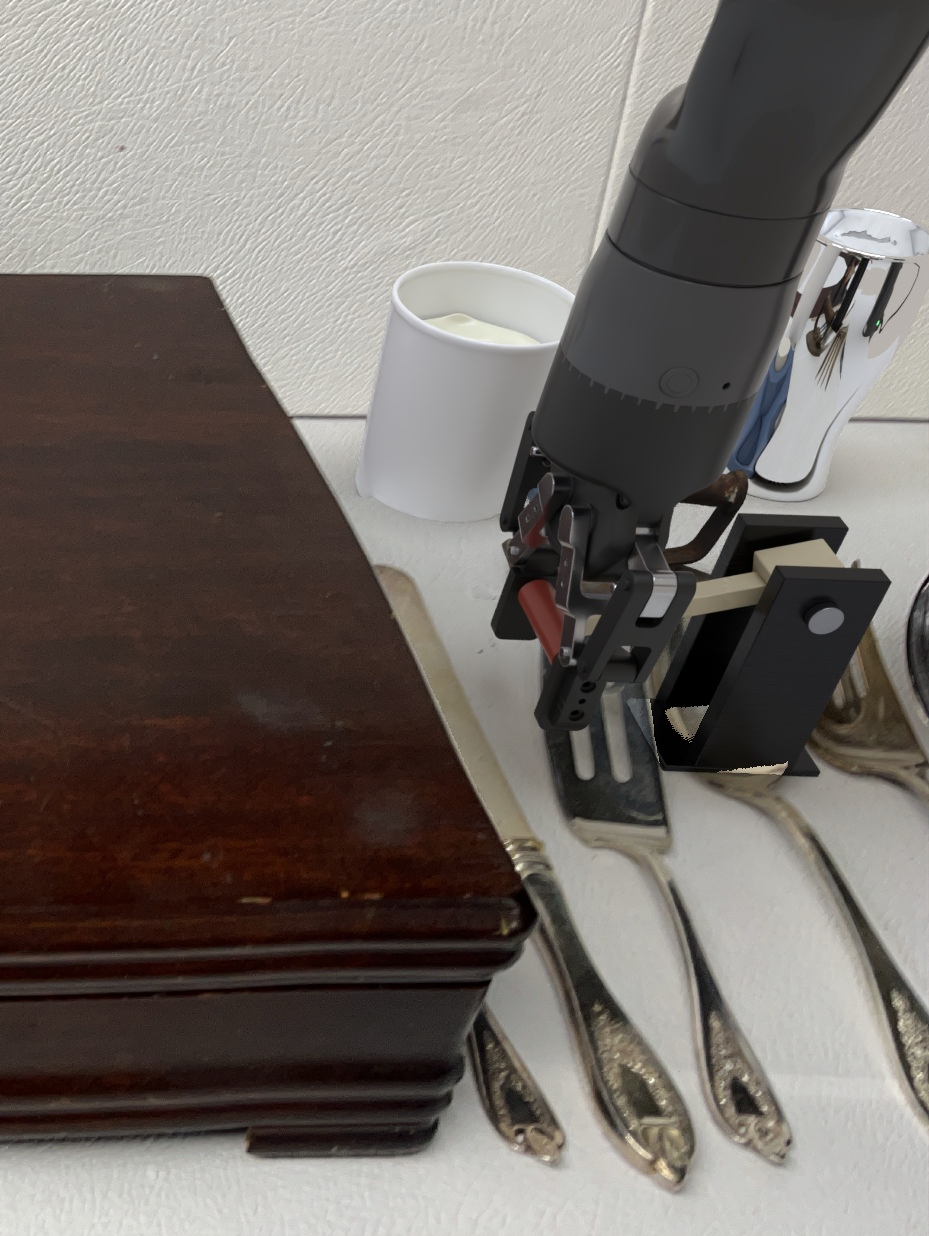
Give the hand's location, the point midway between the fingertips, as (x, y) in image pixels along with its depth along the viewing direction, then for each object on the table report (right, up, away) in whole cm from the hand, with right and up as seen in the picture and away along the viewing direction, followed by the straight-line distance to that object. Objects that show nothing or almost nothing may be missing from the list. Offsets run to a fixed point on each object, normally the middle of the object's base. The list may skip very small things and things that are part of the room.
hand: (535, 677), depth 82 cm
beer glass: (+23, +12, +21) cm, 34 cm away
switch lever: (+5, +2, -2) cm, 6 cm away
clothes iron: (+10, +4, +12) cm, 16 cm away
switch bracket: (+9, -4, +2) cm, 10 cm away
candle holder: (+3, +10, +19) cm, 22 cm away
